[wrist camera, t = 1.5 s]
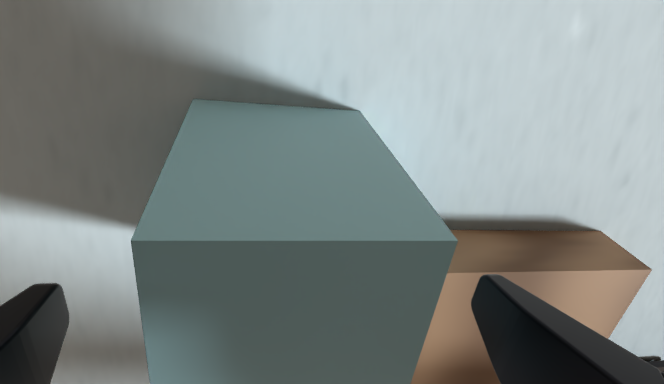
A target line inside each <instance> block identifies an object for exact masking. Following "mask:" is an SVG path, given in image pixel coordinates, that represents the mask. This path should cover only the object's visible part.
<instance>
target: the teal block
mask: <svg viewBox="0 0 664 384" xmlns="http://www.w3.org/2000/svg"><path fill="white" fill-rule="evenodd" d="M457 242H458V240H457V239H456V237H455V236H454V235H453V233H452V232H451V231H450V229H449V228H448V227H447V225H446V224H445V223H444V222H443V220H442V219H441V218H440V216H439V215H438V214H437V212H436V211H435V210H434V208H433V207H432V206H431V204H430V203H429V202H428V200H427V199H426V198H425V196H424V195H423V194H422V192H421V191H420V190H419V189H418V187H417V186H416V185H415V183H414V182H413V181H412V179H411V178H410V177H409V175H408V174H407V173H406V171H405V170H404V169H403V167H402V166H401V165H400V163H399V162H398V161H397V159H396V158H395V157H394V155H393V154H392V153H391V152H390V150H389V149H388V148H387V146H386V145H385V144H384V142H383V141H382V140H381V138H380V137H379V136H378V134H377V133H376V132H375V130H374V129H373V128H372V126H371V125H370V124H369V122H368V121H367V120H366V119H365V117H364V116H363V115H362V113H361V112H360V111H355V110H341V109H327V108H313V107H299V106H285V105H271V104H257V103H243V102H229V101H215V100H201V99H193V101H192V103H191V105H190V107H189V110H188V112H187V114H186V116H185V119H184V121H183V123H182V126H181V128H180V130H179V132H178V135H177V137H176V139H175V141H174V144H173V146H172V148H171V151H170V153H169V155H168V157H167V160H166V162H165V164H164V166H163V169H162V171H161V173H160V176H159V178H158V180H157V182H156V185H155V187H154V189H153V192H152V194H151V196H150V198H149V201H148V203H147V205H146V207H145V210H144V212H143V214H142V217H141V219H140V221H139V223H138V226H137V228H136V230H135V232H134V235H133V237H132V239H131V245H132V253H133V260H134V267H135V275H136V282H137V290H138V297H139V305H140V312H141V320H142V327H143V334H144V342H145V349H146V357H147V364H148V372H149V379H150V384H411V381H412V378H413V375H414V372H415V369H416V366H417V363H418V360H419V356H420V353H421V350H422V347H423V344H424V341H425V338H426V335H427V332H428V329H429V326H430V323H431V320H432V317H433V314H434V311H435V308H436V305H437V302H438V299H439V296H440V293H441V290H442V287H443V284H444V281H445V278H446V275H447V272H448V269H449V266H450V263H451V260H452V257H453V254H454V251H455V248H456V245H457Z"/></svg>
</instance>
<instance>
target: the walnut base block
mask: <svg viewBox="0 0 664 384" xmlns="http://www.w3.org/2000/svg"><path fill="white" fill-rule="evenodd" d="M450 231H451V232H452V233H453V235H454V236H455V237H456V239H457V240H458V242H457V245H456V248H455V251H454V254H453V257H452V260H451V263H450V266H449V269H448V272H447V275H446V278H445V281H444V284H443V287H442V290H441V293H440V296H439V299H438V302H437V305H436V308H435V311H434V314H433V317H432V320H431V323H430V326H429V329H428V332H427V335H426V338H425V341H424V344H423V347H422V350H421V353H420V356H419V360H418V363H417V366H416V369H415V372H414V375H413V378H412V381H411V384H501V383H500V381H499V379H498V377H497V375H496V373H495V370H494V368H493V366H492V363H491V361H490V358H489V355H488V353H487V350H486V347H485V345H484V342H483V339H482V336H481V334H480V331H479V328H478V326H477V323H476V320H475V317H474V315H473V312H472V308H471V300H472V297H473V294H474V291H475V289H476V286H477V284H478V281H479V279H480V277H481V276H482V275H485V274H499V275H501V276H503V277H505V278H506V279H508V280H510V281H511V282H513V283H515V284H516V285H518V286H520V287H522V288H523V289H525V290H527V291H528V292H530V293H532V294H533V295H535V296H537V297H538V298H540V299H542V300H543V301H545V302H547V303H548V304H550V305H552V306H553V307H555V308H557V309H558V310H560V311H562V312H564V313H565V314H567V315H569V316H570V317H572V318H574V319H575V320H577V321H579V322H580V323H582V324H584V325H585V326H587V327H589V328H590V329H592V330H594V331H595V332H597V333H599V334H600V335H602V336H604V337H605V338H607V339H608V338H609V336H610V335H611V333H612V332H613V330H614V329H615V327H616V325H617V324H618V322H619V321H620V319H621V318H622V316H623V314H624V313H625V311H626V310H627V308H628V306H629V305H630V303H631V302H632V300H633V299H634V297H635V295H636V294H637V292H638V291H639V289H640V288H641V286H642V284H643V283H644V281H645V280H646V278H647V277H648V275H649V273H650V272H651V270H652V269H650V268H649V267H648V266H646V265H645V264H644V263H642V262H641V261H640V260H638V259H637V258H636V257H634V256H633V255H632V254H630V253H629V252H628V251H626V250H625V249H624V248H622V247H621V246H620V245H618V244H617V243H616V242H614V241H613V240H612V239H610V238H609V237H608V236H607V235H605V234H604V233H603V232H601V231H530V230H450Z"/></svg>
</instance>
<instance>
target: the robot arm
mask: <svg viewBox="0 0 664 384" xmlns="http://www.w3.org/2000/svg"><path fill="white" fill-rule="evenodd" d="M471 308H472V312H473V315H474V317H475V320H476V323H477V326H478V328H479V331H480V334H481V336H482V339H483V342H484V345H485V347H486V350H487V353H488V355H489V358H490V361H491V363H492V366H493V368H494V370H495V373H496V375H497V377H498V379H499V381H500V383H501V384H664V360H663V361H651V362H646V361H644V360H642V359H641V358H639V357H637V356H636V355H634V354H632V353H631V352H629V351H627V350H626V349H624V348H622V347H621V346H619V345H617V344H616V343H614V342H612V341H611V340H609V339H607V338H605V337H604V336H602V335H600V334H599V333H597V332H595V331H594V330H592V329H590V328H589V327H587V326H585V325H584V324H582V323H580V322H579V321H577V320H575V319H574V318H572V317H570V316H569V315H567V314H565V313H564V312H562V311H560V310H558V309H557V308H555V307H553V306H552V305H550V304H548V303H547V302H545V301H543V300H542V299H540V298H538V297H537V296H535V295H533V294H532V293H530V292H528V291H527V290H525V289H523V288H522V287H520V286H518V285H516V284H515V283H513V282H511V281H510V280H508V279H506V278H505V277H503V276H501V275H499V274H485V275H482V276H481V277H480V279H479V281H478V284H477V286H476V289H475V291H474V294H473V297H472V300H471ZM68 324H69V312H68V308H67V304H66V300H65V296H64V292H63V289H62V287H61V285H59V284H57V283H40V284H34V285H32V286H30V287H29V288H27V289H26V290H24V291H23V292H21V293H19V294H18V295H16V296H15V297H13V298H12V299H10V300H9V301H7V302H6V303H4V304H2V305H1V306H0V384H50V382H51V379H52V376H53V373H54V369H55V366H56V363H57V360H58V357H59V354H60V350H61V347H62V344H63V341H64V338H65V335H66V332H67V328H68Z"/></svg>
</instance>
